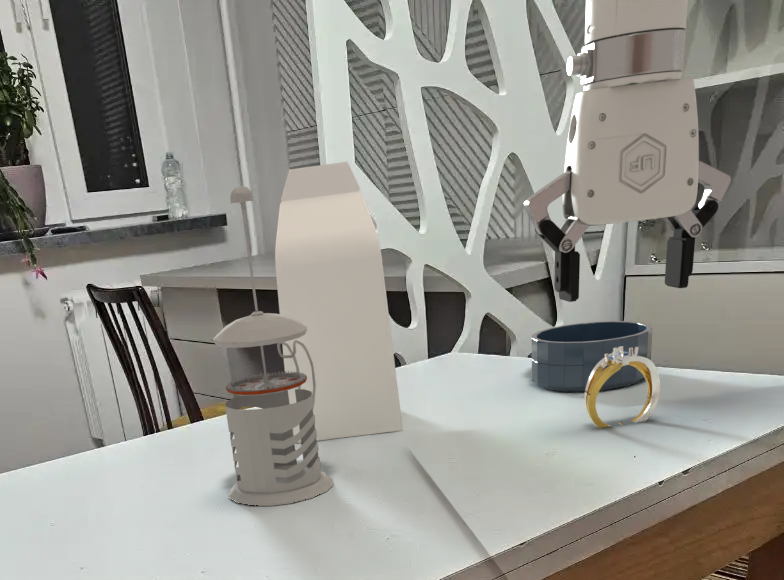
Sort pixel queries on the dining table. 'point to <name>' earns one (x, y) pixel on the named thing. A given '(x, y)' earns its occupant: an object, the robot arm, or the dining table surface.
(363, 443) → the dining table surface
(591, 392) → the ring
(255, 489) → the french press
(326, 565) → the dining table surface
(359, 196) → the milk
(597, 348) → the bowl
